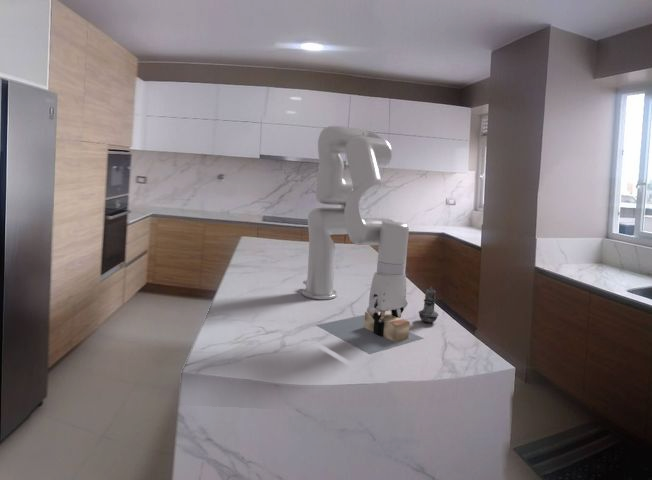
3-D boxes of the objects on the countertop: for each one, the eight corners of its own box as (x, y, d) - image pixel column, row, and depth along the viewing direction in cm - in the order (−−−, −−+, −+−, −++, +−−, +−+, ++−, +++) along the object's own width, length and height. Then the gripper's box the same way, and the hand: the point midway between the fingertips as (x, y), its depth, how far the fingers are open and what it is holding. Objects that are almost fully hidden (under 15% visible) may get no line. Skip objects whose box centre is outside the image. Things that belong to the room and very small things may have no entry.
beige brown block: (364, 327, 115) (365, 311, 114) (376, 324, 118) (377, 308, 118) (395, 342, 106) (396, 325, 105) (408, 338, 109) (409, 321, 108)
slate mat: (315, 327, 115) (315, 325, 115) (367, 316, 127) (367, 314, 127) (369, 357, 98) (369, 354, 98) (423, 341, 110) (423, 338, 110)
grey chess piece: (423, 328, 119) (427, 288, 118) (413, 321, 125) (417, 283, 123) (441, 327, 121) (445, 288, 119) (431, 320, 127) (434, 283, 125)
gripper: (402, 262, 117) (396, 323, 120) (358, 267, 107) (353, 333, 110) (422, 268, 112) (416, 331, 114) (378, 274, 101) (372, 343, 104)
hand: (385, 332), depth 112 cm, fingers closed on beige brown block, 5 cm apart
